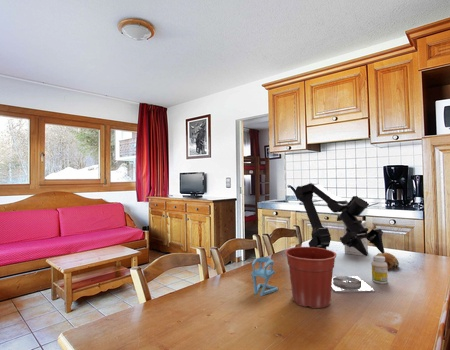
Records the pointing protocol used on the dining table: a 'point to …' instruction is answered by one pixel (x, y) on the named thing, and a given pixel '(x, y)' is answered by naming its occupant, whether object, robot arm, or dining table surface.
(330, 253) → the flower pot
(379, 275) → the supplement bottle
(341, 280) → the flange
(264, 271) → the chair
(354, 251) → the supplement box
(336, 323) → the dining table surface
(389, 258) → the bread roll
